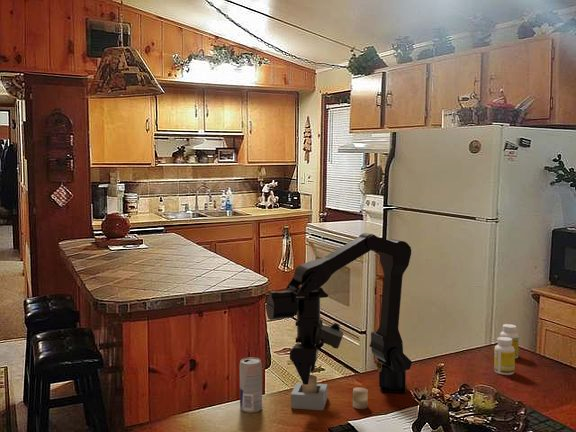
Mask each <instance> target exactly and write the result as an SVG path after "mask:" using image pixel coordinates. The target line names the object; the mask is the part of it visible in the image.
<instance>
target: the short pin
mask: <svg viewBox="0 0 576 432" xmlns="http://www.w3.org/2000/svg"><path fill="white" fill-rule="evenodd" d="M352 390H353V391H352V407H353V408H354V409H357V410H365V409H367V408H368V400H369V399H368V397H369V390H368V389H367V388H365V387H354V388H353V389H352Z"/></svg>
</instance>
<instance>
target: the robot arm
mask: <svg viewBox="0 0 576 432" xmlns="http://www.w3.org/2000/svg"><path fill="white" fill-rule="evenodd" d="M370 251H371V252H375V253H378V254H379V263H380V266H381V269H382V272H383V280H382V281H383V282H382V283H383V284H382V294H381V304H380V305H381V306H380V317H379V318H380V320H379V327H378V329H377V330H376V331H375V332H374V331H371V333H370V344H369V347H370V348H371V353H372V354H373V356H375V357H376V360H377V362H378V363H380V364H381V368H379V372H378V373H379V374H378V376H379V377H378V387H379V388H380V392H383V393H396V394H398V393H399V394H406V393H407V381H406V379H407V378H406V376H407V372H406V371H408V370H410V369H411V366H412V362H413V361H412V360H411V359H410V358H409V357H408V356H407V355H406V354H404V344H403V343H404V342H403V338H402V336H401V333H400V330H399V324H400V312H401V302H402V301H401V300H402V287H403V286H402V285H403V277H404V273H405V272H406V270H407V268H408V267H409V265H410V262H411V256H412V247H411V246H410V245H409V243H408V242H407V241H404V240H400V239H393V238H387V239H385V238H384V237H379V236H377V235H375V234H372V233H367V232H364V233H361V234H360V235H359V236H358V237H356V238H355V239H353V240H351V241H349V242H348V243H346V244H344V245H343V246H341V247H339V248H338V249H336V250H335V251H332V252H331V253H329V254H328V255H326V256H324V257H321V258H318V259H313V260H310V261H307V262H305V263H301V264H299V265H298V266H296V267H295V269H294V272H293V277H292V278H291V280H290V281H289V283H288V284H287V285H286V287H285V290H281V291H278V290H270V291H268V296H267V299H266V303H265V311H266V315H267V318H268V320H269V321H276V320H284V319H294V317H295V316H296V321H295V327H296V337H295V343H296V344H294V345H293V347H292V348H290V351H289V360H291V362H292V364H293V366H294V367H295V369H296V371H297V373H298V375H299V377H300V379H301V383H302V382H303V384H305V385H308V382H309V377H310V375H311V372H314V371H315V367H316V362H317V360H318V357H319V356H318V355H319V350H320V349H321V348H323V346H324V344H326V345H327V346H331V347H332V348H333V349H339V347H340V345H341V341H342V339H343V336H344V332H343V330H341V325H340V324H339V323H337V322H333V323H332V324H331V325H329V324H328V325H325V324H324V322H323V319H322V317H321V299H322V298H323V299H324V298H325V299H326V298H329V294H328V293H327V292H326V291H324V289H323V287H322V286H324V285H325V284H326V283H327V282H328V281H329V280H330V279H331V277H332V275H333V274H335V273H336V272H337V271H339V270H341V269H342V268H344V267H346V266H347V265H348V264H350V263H352V262H354V261H355V260H357V259H358V258H360V257H362V256H364V255H366V254H367V253H369V252H370Z"/></svg>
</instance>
